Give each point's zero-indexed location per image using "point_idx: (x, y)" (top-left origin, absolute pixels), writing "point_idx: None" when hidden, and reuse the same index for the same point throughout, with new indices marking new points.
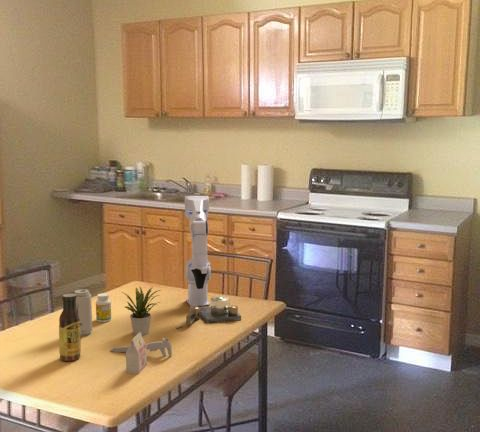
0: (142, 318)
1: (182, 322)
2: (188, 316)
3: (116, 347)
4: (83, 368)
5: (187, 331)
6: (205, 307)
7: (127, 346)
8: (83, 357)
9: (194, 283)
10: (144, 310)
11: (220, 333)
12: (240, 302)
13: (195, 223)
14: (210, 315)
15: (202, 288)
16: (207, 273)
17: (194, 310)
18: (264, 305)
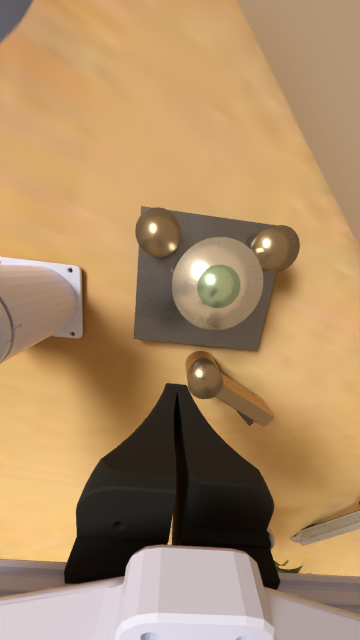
0: (273, 544)
1: (211, 399)
2: (268, 420)
3: (306, 543)
4: (335, 570)
5: (280, 407)
6: (140, 312)
7: (327, 536)
8: (294, 567)
9: (1, 360)
10: (278, 570)
11: (343, 341)
12: (77, 118)
13: None
14: (229, 328)
15: (186, 387)
16: (255, 468)
17: (225, 389)
18: (162, 10)
